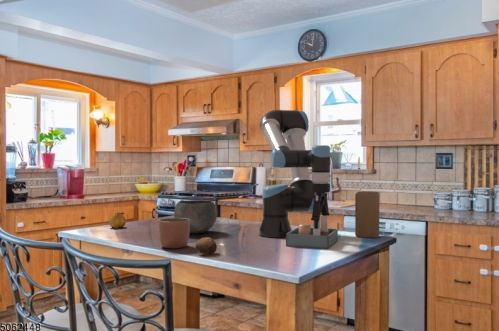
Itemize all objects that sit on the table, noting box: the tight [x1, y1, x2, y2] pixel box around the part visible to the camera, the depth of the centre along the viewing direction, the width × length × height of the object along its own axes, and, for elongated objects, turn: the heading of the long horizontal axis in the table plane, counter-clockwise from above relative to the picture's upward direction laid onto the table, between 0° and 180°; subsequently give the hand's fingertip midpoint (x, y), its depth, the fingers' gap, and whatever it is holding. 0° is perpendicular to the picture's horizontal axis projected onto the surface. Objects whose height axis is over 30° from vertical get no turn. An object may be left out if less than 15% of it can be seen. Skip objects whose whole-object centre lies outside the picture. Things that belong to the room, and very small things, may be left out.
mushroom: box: [195, 236, 217, 256], centre depth 166 cm, size 8×8×6 cm
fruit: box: [108, 212, 127, 229], centre depth 231 cm, size 8×8×8 cm
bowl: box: [173, 199, 218, 234], centre depth 213 cm, size 20×20×15 cm
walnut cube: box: [320, 229, 329, 236], centre depth 183 cm, size 5×5×5 cm
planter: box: [158, 217, 190, 250], centre depth 179 cm, size 12×12×11 cm
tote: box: [285, 226, 339, 250], centre depth 185 cm, size 17×19×5 cm
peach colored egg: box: [298, 223, 312, 235], centre depth 186 cm, size 5×5×7 cm
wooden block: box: [354, 190, 380, 239], centre depth 202 cm, size 10×10×20 cm
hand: (320, 233), depth 184 cm, fingers open, 13 cm apart
